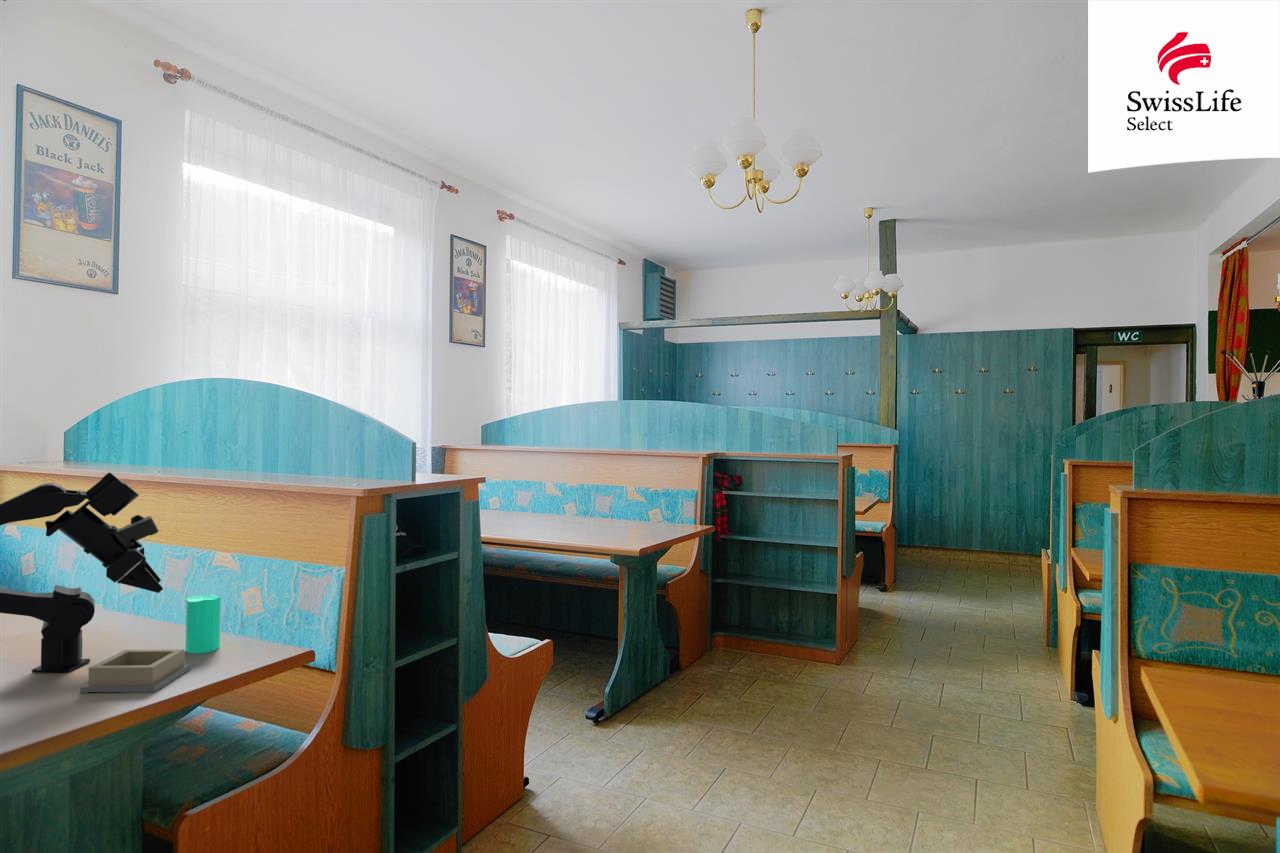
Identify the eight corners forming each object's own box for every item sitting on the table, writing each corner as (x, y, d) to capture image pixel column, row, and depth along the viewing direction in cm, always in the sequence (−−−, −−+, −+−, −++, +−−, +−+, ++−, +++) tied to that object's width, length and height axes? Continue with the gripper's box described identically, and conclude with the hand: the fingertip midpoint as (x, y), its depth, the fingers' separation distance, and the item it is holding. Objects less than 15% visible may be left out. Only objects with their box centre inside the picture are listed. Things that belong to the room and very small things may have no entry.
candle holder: (154, 692, 126) (155, 668, 126) (80, 693, 125) (80, 669, 125) (190, 669, 138) (191, 647, 138) (122, 670, 137) (123, 648, 137)
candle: (221, 650, 150) (222, 591, 150) (186, 655, 147) (187, 594, 147) (218, 643, 155) (219, 585, 155) (184, 647, 152) (186, 589, 152)
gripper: (130, 507, 137) (198, 562, 143) (129, 499, 152) (190, 549, 158) (75, 553, 132) (147, 608, 138) (80, 539, 147) (145, 589, 153)
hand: (160, 586), depth 147 cm, fingers open, 9 cm apart
